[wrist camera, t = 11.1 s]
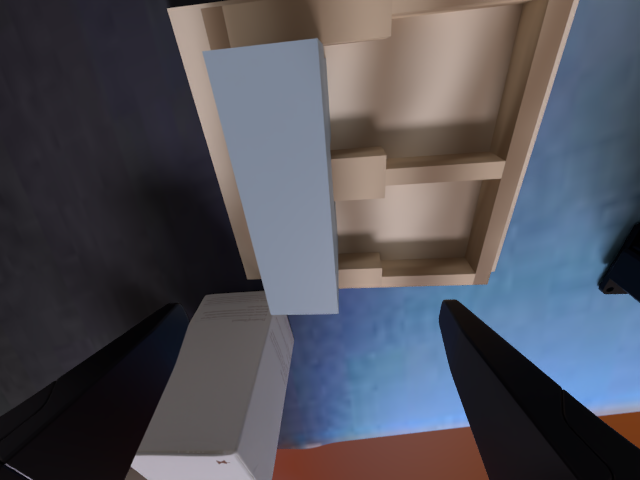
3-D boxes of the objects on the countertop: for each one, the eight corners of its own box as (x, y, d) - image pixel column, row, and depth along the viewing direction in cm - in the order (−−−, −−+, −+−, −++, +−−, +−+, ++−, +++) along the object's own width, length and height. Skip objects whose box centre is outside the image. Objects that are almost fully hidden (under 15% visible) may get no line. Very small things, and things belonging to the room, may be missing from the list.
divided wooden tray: (583, -44, 13) (634, -66, 11) (490, 266, 22) (507, 288, 20) (172, 10, 15) (143, 1, 12) (249, 274, 24) (240, 295, 22)
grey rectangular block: (325, 47, 15) (317, 38, 9) (338, 250, 22) (338, 313, 16) (251, 55, 15) (202, 51, 10) (287, 252, 22) (270, 315, 16)
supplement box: (203, 292, 26) (108, 454, 15) (281, 287, 25) (238, 455, 14) (227, 344, 30) (165, 501, 19) (295, 341, 29) (270, 504, 18)
